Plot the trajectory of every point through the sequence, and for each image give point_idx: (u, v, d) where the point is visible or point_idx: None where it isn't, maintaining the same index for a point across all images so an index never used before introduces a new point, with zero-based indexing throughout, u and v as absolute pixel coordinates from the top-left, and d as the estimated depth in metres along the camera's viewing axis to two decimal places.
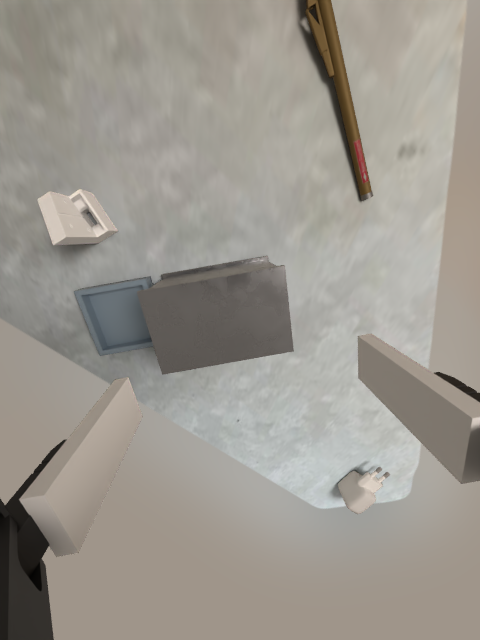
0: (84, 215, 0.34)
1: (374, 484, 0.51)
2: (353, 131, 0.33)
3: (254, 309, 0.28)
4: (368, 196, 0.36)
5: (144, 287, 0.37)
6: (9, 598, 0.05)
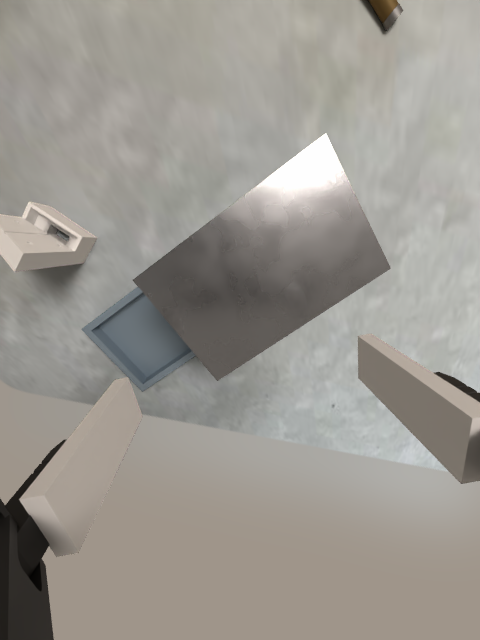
0: (52, 235, 0.27)
1: None
2: None
3: (306, 228, 0.17)
4: (397, 13, 0.23)
5: None
6: (9, 598, 0.05)
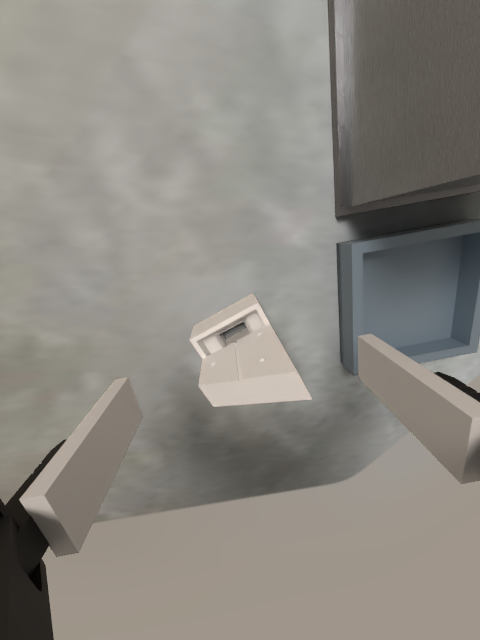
0: (229, 341, 0.20)
1: None
2: None
3: None
4: None
5: (368, 248, 0.17)
6: (9, 598, 0.05)
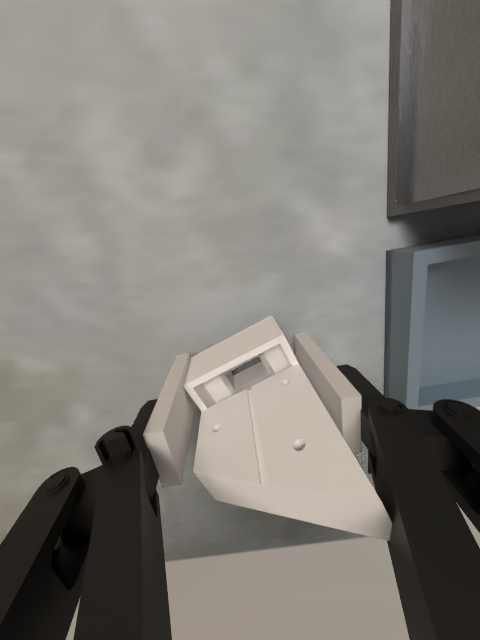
0: (239, 381, 0.15)
1: None
2: None
3: None
4: None
5: (436, 258, 0.13)
6: (141, 518, 0.06)
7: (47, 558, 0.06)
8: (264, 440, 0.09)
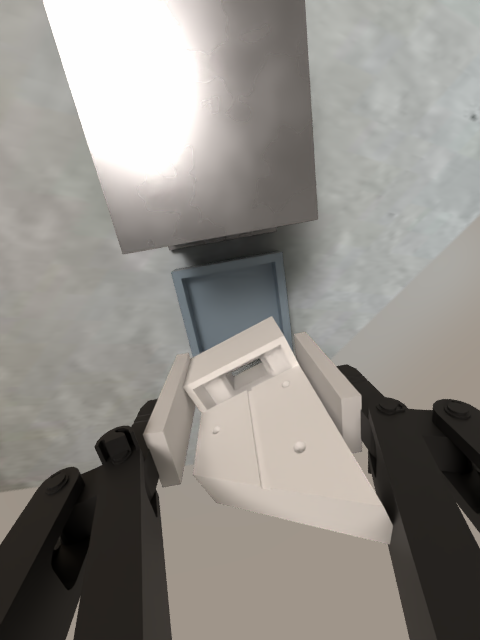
0: (239, 382, 0.15)
1: None
2: None
3: None
4: None
5: (185, 275, 0.24)
6: (141, 518, 0.06)
7: (47, 558, 0.06)
8: (264, 442, 0.09)
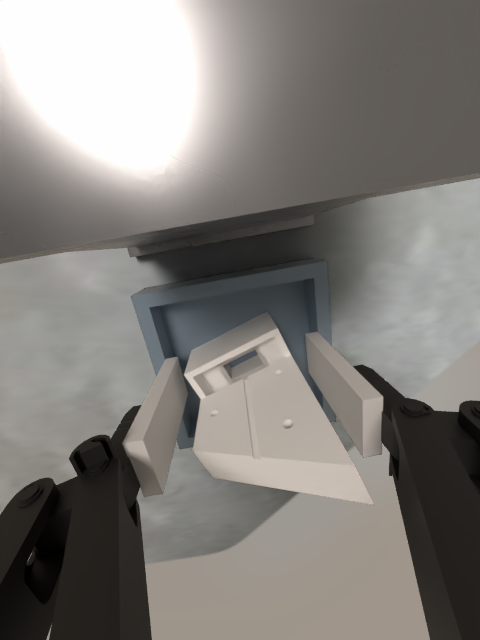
0: (236, 372, 0.16)
1: None
2: None
3: None
4: None
5: (155, 302, 0.13)
6: (119, 528, 0.06)
7: (19, 573, 0.06)
8: (257, 421, 0.10)
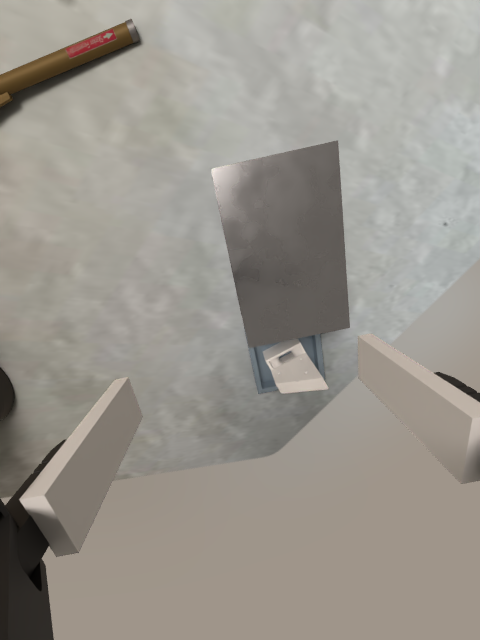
0: (282, 360, 0.38)
1: None
2: (58, 59, 0.26)
3: (270, 210, 0.21)
4: (132, 26, 0.26)
5: None
6: (9, 598, 0.05)
7: None
8: (296, 373, 0.32)
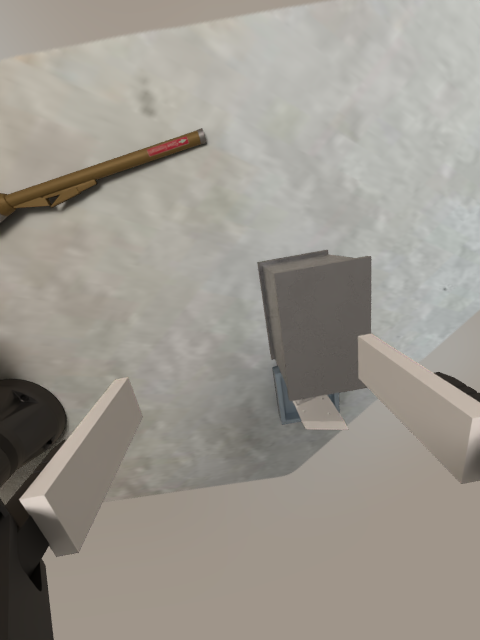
0: None
1: None
2: (140, 157, 0.31)
3: (316, 302, 0.27)
4: (202, 135, 0.31)
5: None
6: (9, 598, 0.05)
7: None
8: (319, 413, 0.39)
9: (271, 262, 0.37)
